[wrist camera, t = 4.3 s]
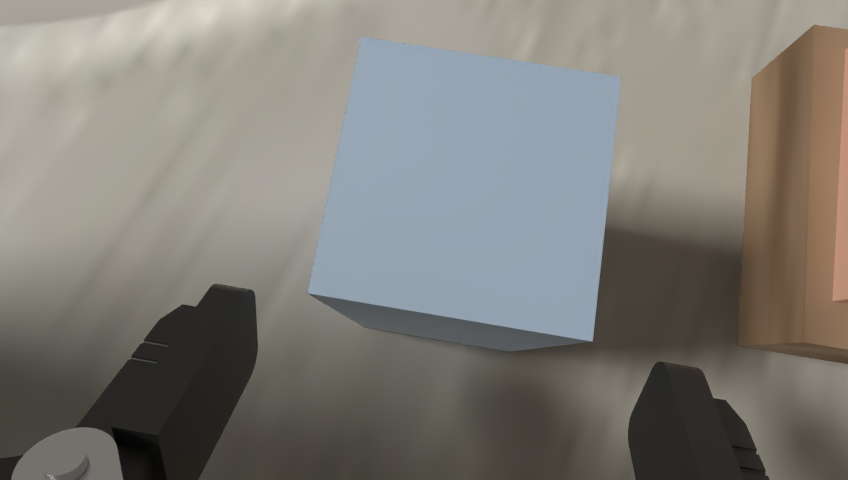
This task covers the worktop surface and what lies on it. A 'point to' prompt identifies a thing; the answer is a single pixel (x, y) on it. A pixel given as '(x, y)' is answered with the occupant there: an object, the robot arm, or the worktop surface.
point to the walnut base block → (794, 202)
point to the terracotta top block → (842, 205)
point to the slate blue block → (468, 198)
